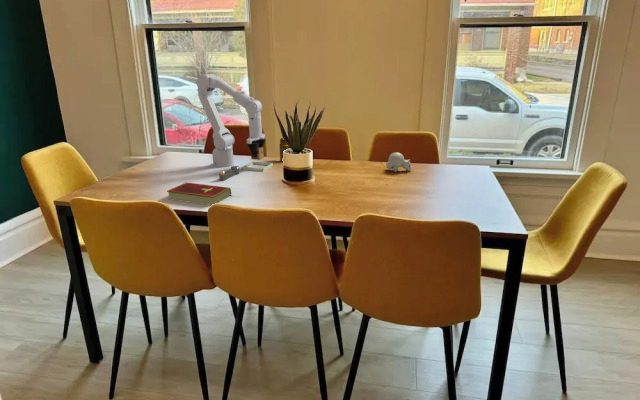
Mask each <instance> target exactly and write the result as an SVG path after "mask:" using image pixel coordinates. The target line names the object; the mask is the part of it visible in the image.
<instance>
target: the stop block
mask: <svg viewBox="0 0 640 400" xmlns="http://www.w3.org/2000/svg"><path fill="white" fill-rule="evenodd" d="M264 158H265V155H264V146H263V147H258V152H257V157H252V154H251V153H250V159H251V160H258V161H260V160H262V159H264Z"/></svg>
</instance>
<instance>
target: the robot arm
mask: <svg viewBox="0 0 640 400" xmlns="http://www.w3.org/2000/svg"><path fill="white" fill-rule="evenodd" d="M195 84H196V86H197V95H198V98H199V101H200V103H201V106H202V107H203V110H204V112H205V114H206V117H207V119H208V121H209V124H210V126H211V128H212V130H213V133H212V140H213V146H214V147H215V148H213V150H212V164H213V167H214V166H215V167H219V168H229V167H230V168H231V167H232V166H235V161H234V152H233V145H234V144H235V136H234V135H233V134H232V133H231V132H230V130H229V129H228V128H227V127H225V124H224V122H223V120H222V118H221V115H220V114H219V111H218V109H217V107H216V104H215V102H214V99H213V96H212V95H213V92H214V91H215V89H219V90H221V91H223V92H224V93H226V94H227V95H229V96H230V97H232V98H233V101H234V103H237V104H238V106H239V105H240V106H241V107H242V108H244V109H245V112H246V113H247V115H248V129H249V137H248V138H247V139H246V145H247V147H248V148H249V151H250V155H251V154H252V157H257V152H258V147H263V148H264V146H265V144H266V139H265V138H266V134H265V133H263V129H262V127H263V125H262V115H261V113H262V110H263V103H262V102H261V101H260V100H259V99H255V98H254V97H251V96H250V95H248V94H247V93H246V91H244V90H236V88H234V87H233V86H231V85H230V84H229V83H228V82H226V81H225V80H224V79H222V77H221V76H219V75H217V74H216V73H213V72H211V73H207V74H203V73H202V74H200V75H199V76H198V77H197V79H196V81H195Z"/></svg>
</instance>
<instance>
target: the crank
mask: <svg viewBox="0 0 640 400" xmlns="http://www.w3.org/2000/svg"><path fill="white" fill-rule="evenodd" d="M239 174H240V166H239V165H233V166H230V168H229V169H227V170H220V171H219V174H218V177H219V181H223V182H224V181H226V180H228V179H230V178H231V177H234V176H235V175H239Z"/></svg>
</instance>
